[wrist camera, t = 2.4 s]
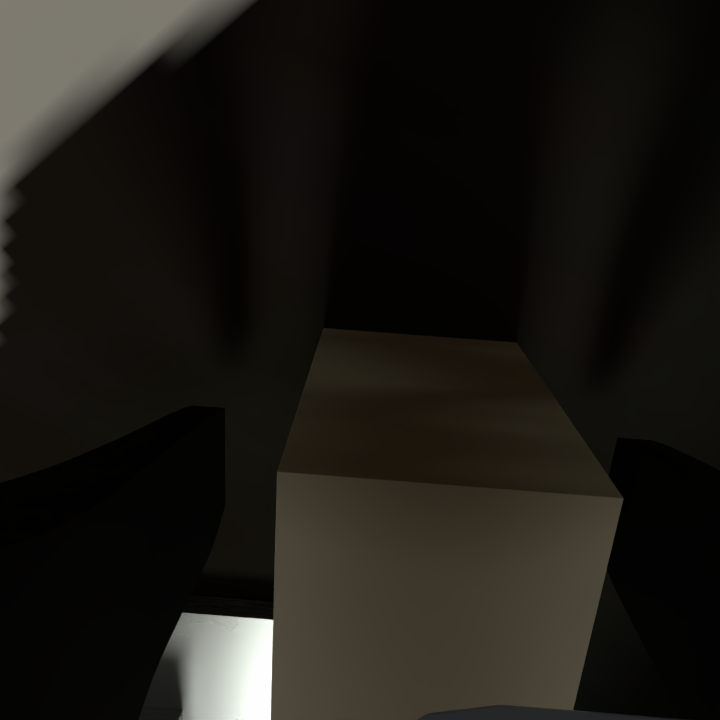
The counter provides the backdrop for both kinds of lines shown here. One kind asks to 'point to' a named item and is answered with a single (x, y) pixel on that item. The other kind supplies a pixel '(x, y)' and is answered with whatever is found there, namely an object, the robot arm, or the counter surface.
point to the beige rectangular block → (433, 534)
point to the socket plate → (215, 663)
